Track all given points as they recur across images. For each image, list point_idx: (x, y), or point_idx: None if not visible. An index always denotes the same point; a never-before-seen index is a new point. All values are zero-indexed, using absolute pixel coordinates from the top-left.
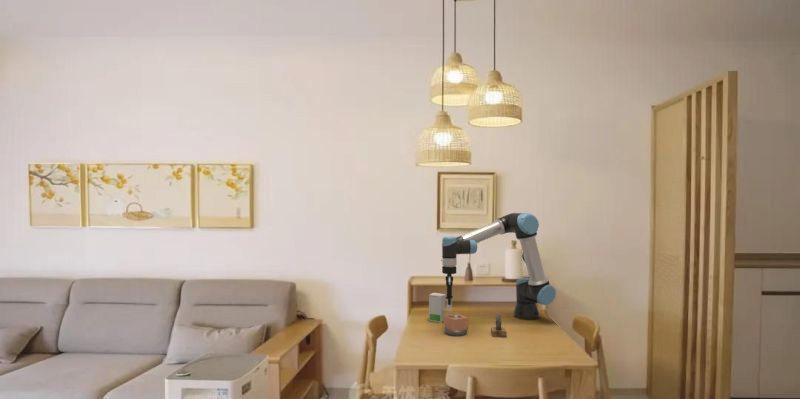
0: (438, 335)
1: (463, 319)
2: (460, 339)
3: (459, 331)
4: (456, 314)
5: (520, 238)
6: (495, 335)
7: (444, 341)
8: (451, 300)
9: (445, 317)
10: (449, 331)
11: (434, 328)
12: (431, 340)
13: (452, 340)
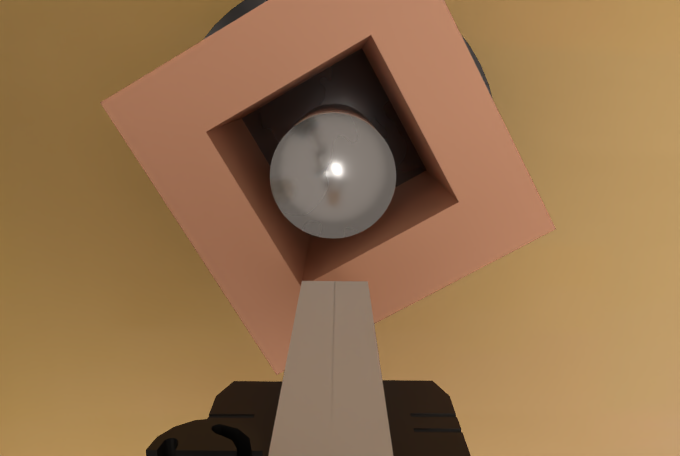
0: (447, 346)
1: (449, 22)
2: (605, 95)
3: None
4: (300, 160)
5: None
6: None
7: (672, 284)
8: (388, 429)
9: None
10: None
11: (167, 389)
12: (630, 415)
13: (640, 194)
